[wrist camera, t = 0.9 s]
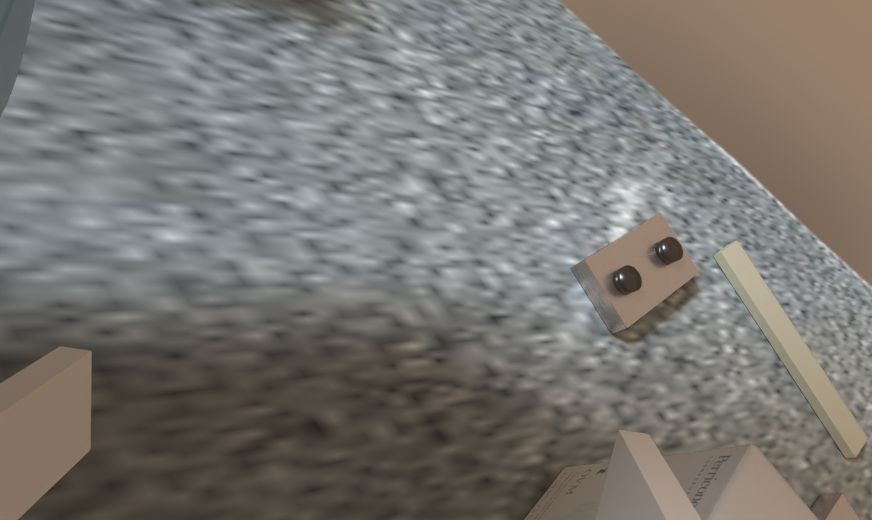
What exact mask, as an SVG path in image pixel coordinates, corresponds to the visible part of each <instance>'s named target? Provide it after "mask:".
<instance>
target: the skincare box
mask: <svg viewBox="0 0 872 520" xmlns="http://www.w3.org/2000/svg"><path fill="white" fill-rule="evenodd" d="M663 458H664V460H665V461H666V463H667V464H668V466H669V468H670V469H671V471H672V473H673V474H674V476H675V477H676V479H677V481H678V482H679V484H680V486H681V487H682V489H683V490H684V492H685V494H686V495H687V497H688V498H689V500H690V502H691V503H692V505H693V507H694V508H695V510H696V511H697V513H698V515H699V516H700V518H701V520H819V519H818V518H817V517H816V516H815V515H814V513H813V512H812V511H811V510H810V509H809V507H808V506H807V505H806V504H805V503H804V501H803V500H802V499H801V498H800V496H799V495H798V494H797V493H796V492H795V490H794V489H793V488H792V487H791V485H790V484H789V483H788V482H787V480H786V479H785V478H784V477H783V476H782V475H781V473H780V472H779V471H778V470H777V469H776V468H775V467H774V466H773V464H772V463H771V462H770V461H769V460H768V459H767V458H766V456H765V455H764V454H763V453H762V452H761V450H760V449H759V448H758V447H757V446H756V445H753V444H750V445H745V446H738V447H730V448H723V449H715V450H707V451H699V452H693V453H684V454H675V455H667V456H663ZM609 465H610V462H607V463H598V464H589V465H580V466H572V467H566V468H564V469H563V470H562V471H561V473H560V474H559V475H558V477H557V478H556V479H555V481H554V482H553V483H552V484H551V486H550V487H549V488H548V490H547V491H546V492H545V493H544V495H543V496H542V497H541V499H540V500H539V501H538V502H537V504H536V505H535V506H534V507H533V509H532V510H531V511H530V512H529V514H528V515H527V516H526V517H525V519H524V520H595V519H596V515H597V511H598V508H599V504H600V500H601V496H602V492H603V488H604V484H605V480H606V476H607V472H608V469H609Z"/></svg>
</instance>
